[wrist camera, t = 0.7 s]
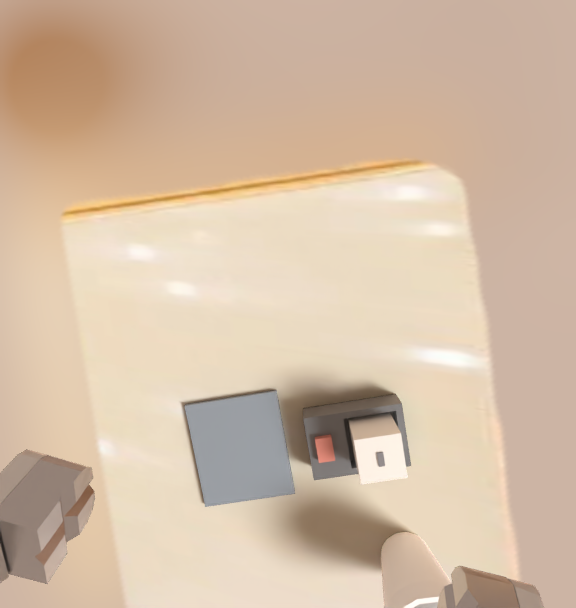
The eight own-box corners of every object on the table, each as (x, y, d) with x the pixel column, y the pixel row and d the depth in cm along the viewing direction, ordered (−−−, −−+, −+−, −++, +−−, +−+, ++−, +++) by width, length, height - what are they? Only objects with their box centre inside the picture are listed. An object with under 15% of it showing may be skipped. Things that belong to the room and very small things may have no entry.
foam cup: (415, 598, 60) (446, 693, 47) (356, 565, 59) (371, 652, 47) (453, 541, 59) (495, 623, 46) (393, 508, 58) (418, 581, 45)
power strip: (404, 452, 57) (412, 469, 53) (313, 466, 58) (314, 483, 54) (395, 394, 57) (403, 405, 52) (303, 408, 57) (303, 421, 53)
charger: (394, 449, 56) (408, 478, 49) (353, 455, 56) (361, 485, 49) (388, 410, 55) (401, 433, 48) (347, 416, 56) (354, 440, 48)
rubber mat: (294, 491, 59) (294, 493, 58) (206, 504, 59) (205, 506, 59) (276, 389, 57) (276, 391, 56) (185, 404, 58) (184, 406, 57)
